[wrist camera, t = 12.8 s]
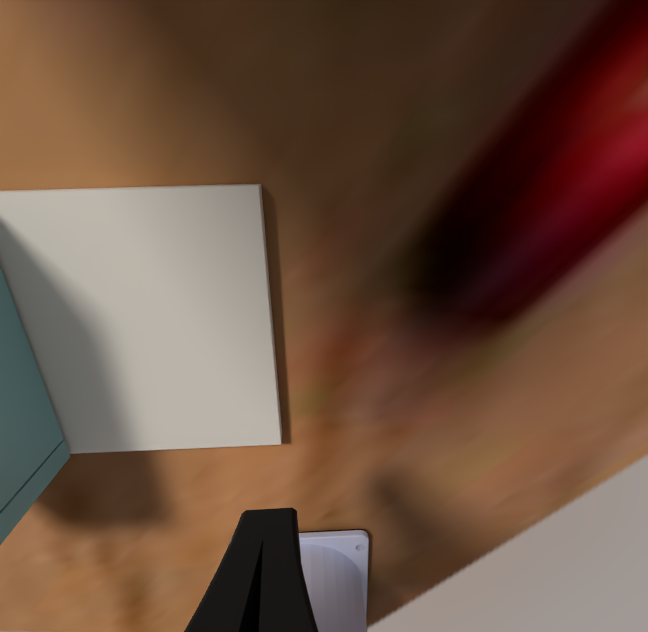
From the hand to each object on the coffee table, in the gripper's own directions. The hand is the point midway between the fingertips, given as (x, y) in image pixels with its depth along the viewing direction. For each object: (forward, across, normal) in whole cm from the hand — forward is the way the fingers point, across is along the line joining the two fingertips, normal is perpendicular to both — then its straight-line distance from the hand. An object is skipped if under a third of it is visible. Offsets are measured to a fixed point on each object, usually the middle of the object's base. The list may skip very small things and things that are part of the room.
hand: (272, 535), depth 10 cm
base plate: (+8, +10, -2) cm, 13 cm away
